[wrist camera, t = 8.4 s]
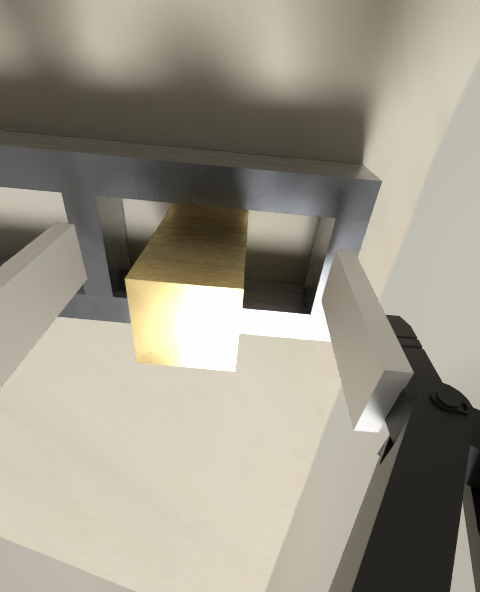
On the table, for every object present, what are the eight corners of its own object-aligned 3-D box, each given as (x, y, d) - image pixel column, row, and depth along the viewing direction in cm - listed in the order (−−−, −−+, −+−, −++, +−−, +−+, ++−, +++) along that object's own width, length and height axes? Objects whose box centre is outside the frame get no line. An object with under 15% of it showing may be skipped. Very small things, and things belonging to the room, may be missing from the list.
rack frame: (-168, 114, 16) (-248, 121, 13) (362, 164, 16) (382, 181, 13) (-79, 273, 21) (-125, 300, 18) (321, 309, 21) (330, 341, 19)
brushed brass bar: (174, 201, 17) (124, 278, 11) (248, 208, 17) (243, 289, 11) (176, 266, 20) (136, 362, 13) (242, 272, 20) (234, 371, 13)
